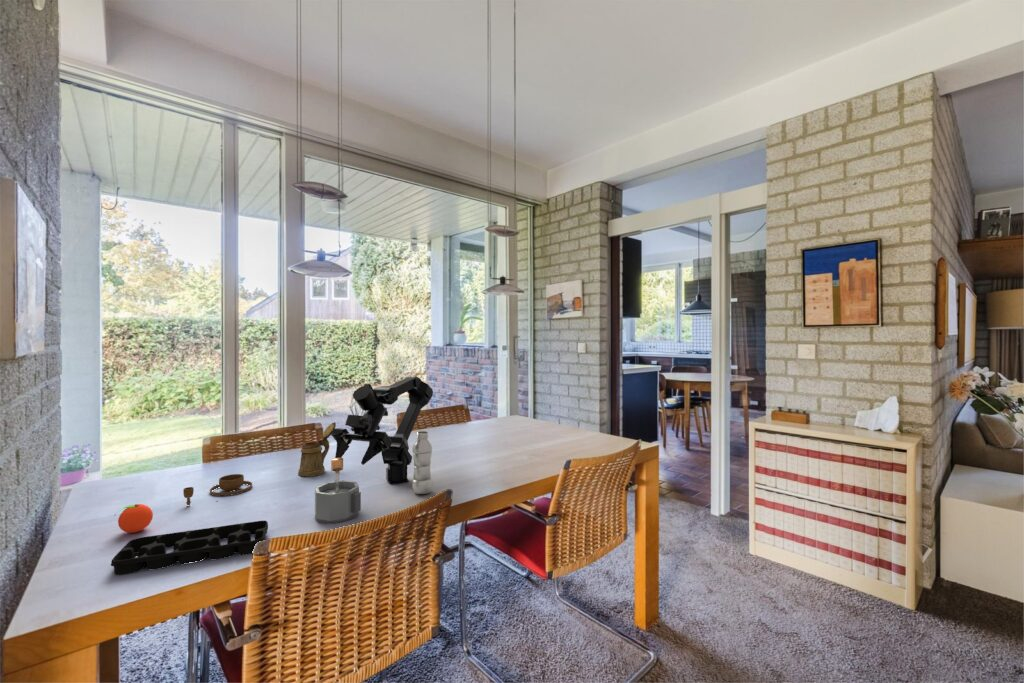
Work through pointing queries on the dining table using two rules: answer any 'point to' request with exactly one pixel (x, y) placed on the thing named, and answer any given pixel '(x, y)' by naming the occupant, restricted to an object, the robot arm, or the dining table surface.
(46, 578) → the dining table surface
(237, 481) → the place setting
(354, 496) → the press jug
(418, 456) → the plastic bottle
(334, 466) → the plunger
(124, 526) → the clementine
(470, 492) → the dining table surface
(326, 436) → the wooden mug
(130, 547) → the egg carton
